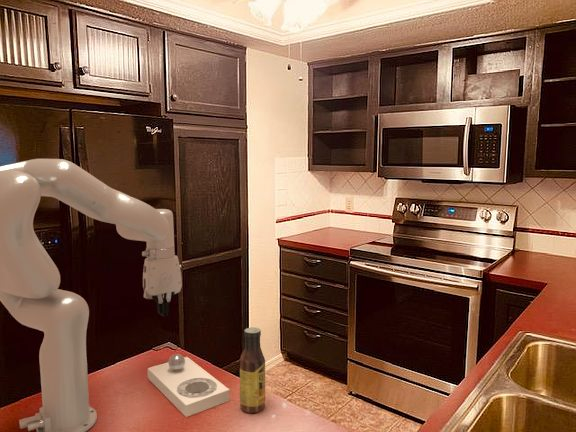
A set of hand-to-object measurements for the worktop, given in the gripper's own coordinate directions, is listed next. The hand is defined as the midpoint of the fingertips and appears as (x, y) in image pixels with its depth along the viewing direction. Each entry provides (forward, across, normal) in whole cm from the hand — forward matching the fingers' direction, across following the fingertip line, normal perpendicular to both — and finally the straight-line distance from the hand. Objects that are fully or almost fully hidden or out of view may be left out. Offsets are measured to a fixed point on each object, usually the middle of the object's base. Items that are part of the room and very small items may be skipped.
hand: (163, 314), depth 131 cm
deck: (+16, -1, -15) cm, 22 cm away
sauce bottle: (+16, +8, -33) cm, 38 cm away
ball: (+11, -1, -9) cm, 14 cm away
